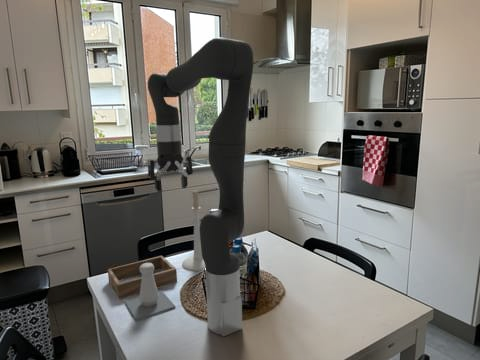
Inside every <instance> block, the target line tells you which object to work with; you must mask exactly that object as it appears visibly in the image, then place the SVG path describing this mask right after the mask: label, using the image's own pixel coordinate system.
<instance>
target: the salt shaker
mask: <svg viewBox="0 0 480 360" xmlns="http://www.w3.org/2000/svg"><path fill="white" fill-rule="evenodd" d="M154 272H155V271H154V265H153V264H152V263H144V264H142V265H141V266H140V273H141V274H142V275H141V277H142V280H141V288H140V293H139V294H138V295H139V296H138V297H139V299H140V302H141V303H142V305H143V306H145V307H151V306H154V305H155V304H156V303H157V300H158V297H159V294H158V291H159V290H158V288H157V287H156V283H155V279H154V275H153V274H154Z"/></svg>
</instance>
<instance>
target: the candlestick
mask: <svg viewBox="0 0 480 360" xmlns="http://www.w3.org/2000/svg"><path fill="white" fill-rule="evenodd" d="M192 201H193V203H192V207H191V209H192V213H193V214H194V216H193V255H190V256H189V257H187V258H185V259H184V260H183V261H182V268H183V269H185V270H186V271H190V272H202V271H204V270H203V269H204V266H205V263H204V260H203V258H202V251H201V242H200V223H201V219H200V215H199V214H200V212H201V208H202V207H201V206H199V205H200V204H199V202H200V201H199V190H197V189H194V190H192Z"/></svg>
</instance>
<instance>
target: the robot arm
mask: <svg viewBox="0 0 480 360" xmlns="http://www.w3.org/2000/svg"><path fill="white" fill-rule="evenodd" d="M253 72H254V52H253V49H252V46H251V45H250V44H249V43H248V42H247V41H244V40H239V39H232V38H228V37H227V38H226V37H214V38H212V39H210V40H209V41H207V42H206V43H205V44H203V46H202V47H201V48H200V49H198V51H196V53H194V54H193V55H192V56H191V57H190V58H188V59H187V61H185V62H183V63H181V64H178V65H176V66H175V67H173V68H171V69H170V70H168V72H167V73H159V72H157V73H156V72H155V73H152V74H151V75H149V77H148V80H147V91H148V94H149V95H150V99H151V101H152V105H153V108H154V112H155V123H156V127H155V128H156V130H155V131H156V132H155V134H156V135H155V139H156V149H157V150H156V152H157V158H156V159H151V158H149V159H148V160H147V177H148V178H149V179H151V180H154V189H155V190H156V191H157V192H159V193H161V192H162V181H161V178H162V177H163V176H164V175H165V174H166V173H169V172H178V173H180V175H181V176H180V180H181V181H180V182H181V188H182V189H186V188H187V187H188V176H190V175H193V173H194V172H193V171H194V170H193V163H192V157H191V156H189V155H185V156H182V154H183V153H182V151H183V150H182V136H181V135H182V134H181V128H180V113H179V108H178V107H177V106H176V105H172V104H168V103H167V102H166V99H165V98H178V97H181V96H182V95H183V94H184V93H185V92H187V91H190V90H192V89H194V88H195V87H197V86H198V85H199V84H200V83H201V81H202V79H210V78H211V79H217V80H223V81H228V88H227V94H226V95H227V96H226V100H225V103H224V105H223V108H222V109H221V110H220V113H219V115H218V116H217V118H216V120H215V121H214V123H213V125H212V127H211V129H210V131H209V137H208V162H209V166H210V169H211V171H212V174H213V176H214V178H215V180H216V182H217V184H218V189H219V202H218V209H217V210H214V211H212V212H209V213H207V214H205V215H204V216H203V217H202V219H200V242H201V251H202V258H203V260H204V263H205V268H206V270H205V285H206V286H205V288H206V313H207V314H206V315H207V327H208V330H209V331H210V332H212V333H214V334H217V335H220V336H222V337H226V336H228V335H229V336H230V335H231V334H233V333H235V332H238V331H241V330H242V329H243V304H242V303H243V301H242V296H241V287H240V286H241V282H240V281H241V278H240V277H241V276H240V258H239V256H238V255H237V254H236V253H233V252H231V251H230V249H231V248H230V243H231V242H234V241H236V240H237V239H238V238H240V236H241V235H242V234H243V232H244V229H245V209H244V178H245V177H244V172H245V159H246V157H245V156H246V144H247V143H246V142H247V141H246V135H247V134H246V133H247V120H248V119H247V118H248V117H247V116H248V106H249V99H250V92H251V86H252V85H251V84H252V78H253ZM182 163H185V164H184V165H185V169H184V167H183V166H182ZM157 165H158V166H159V167H158V169H157V170H156V173H155V167H156V166H157Z"/></svg>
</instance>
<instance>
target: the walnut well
mask: <svg viewBox="0 0 480 360" xmlns="http://www.w3.org/2000/svg"><path fill="white" fill-rule="evenodd" d="M144 263H152V264H153V265H154V271H153V272H156V271H159V270H160V271H159V272H156V273H153V275H154V279H155V283H156V287H157V289H159V288H161V287H165V286H169V285H173V284H175V283H178V273H177V272H178V271H177V268H176V267H175V266H174V265H173V264H172V263H171V262H170V261H169V260H167V258H165V257H164V256H163V255H158V256H154V257H151V258H146V259H143V260H138V261H135V262H132V263H127V264H124V265H123V264H122V265H119V266H115V267H111V268H108V269H107V275H108V277H107V278H108V284H109V285H110V286H111V289H112V290H113V291H114V293H115V295H116V297H117V298H118V300H123V299H126V298H130V297H132V296H133V297H134V296H136V295H140V288H141V280H142V274H141V273H140V266H141V265H142V264H144ZM138 276H141V277H138ZM135 277H136V278H135ZM137 277H138V278H137ZM130 278H131V279H130ZM132 278H133V279H132ZM127 279H130V280H127ZM124 280H127V281H124ZM120 281H123V282H120Z"/></svg>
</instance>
